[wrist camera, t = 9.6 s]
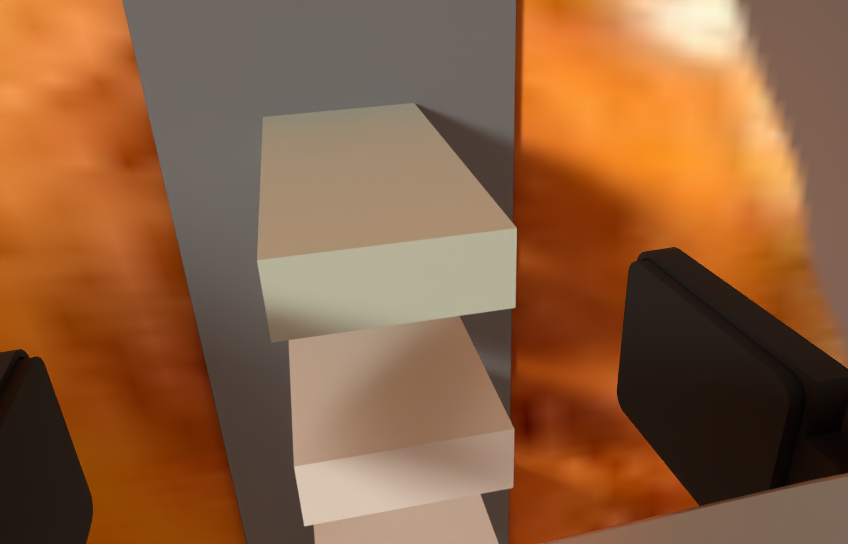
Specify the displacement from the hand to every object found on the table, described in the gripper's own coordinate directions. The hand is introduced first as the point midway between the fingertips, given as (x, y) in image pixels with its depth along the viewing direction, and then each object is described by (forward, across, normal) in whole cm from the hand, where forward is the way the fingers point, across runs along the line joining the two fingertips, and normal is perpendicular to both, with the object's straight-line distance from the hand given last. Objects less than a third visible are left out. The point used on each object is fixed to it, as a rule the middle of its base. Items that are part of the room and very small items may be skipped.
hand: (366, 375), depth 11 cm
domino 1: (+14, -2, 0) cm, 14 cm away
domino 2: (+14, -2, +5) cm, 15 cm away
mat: (+14, -2, +9) cm, 17 cm away
